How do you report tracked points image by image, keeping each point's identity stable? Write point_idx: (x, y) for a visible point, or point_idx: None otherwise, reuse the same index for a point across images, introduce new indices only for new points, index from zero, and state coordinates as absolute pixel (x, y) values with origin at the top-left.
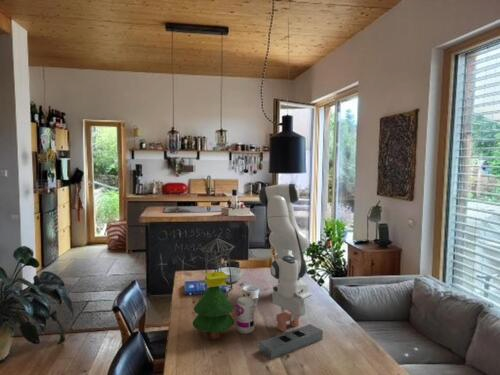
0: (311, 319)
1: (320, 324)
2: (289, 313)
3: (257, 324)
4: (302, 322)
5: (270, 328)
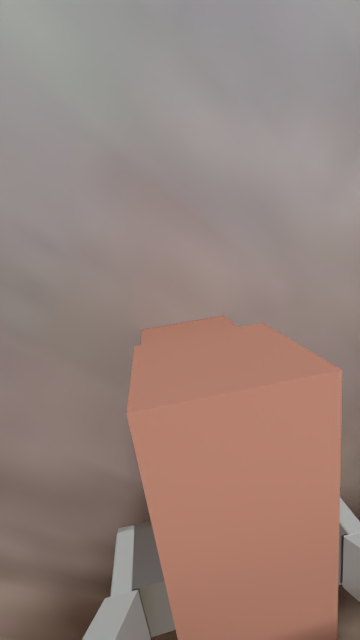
0: (151, 15)
1: (341, 14)
2: (296, 623)
3: (35, 634)
4: (177, 219)
5: None
